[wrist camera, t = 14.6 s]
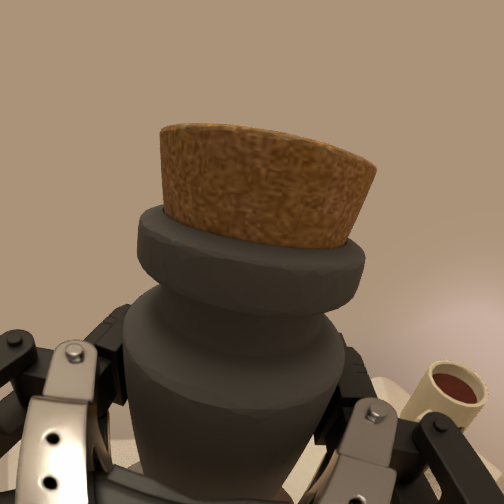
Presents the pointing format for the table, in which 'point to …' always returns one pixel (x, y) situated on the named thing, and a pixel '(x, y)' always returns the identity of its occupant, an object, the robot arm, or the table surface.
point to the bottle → (240, 305)
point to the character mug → (447, 394)
